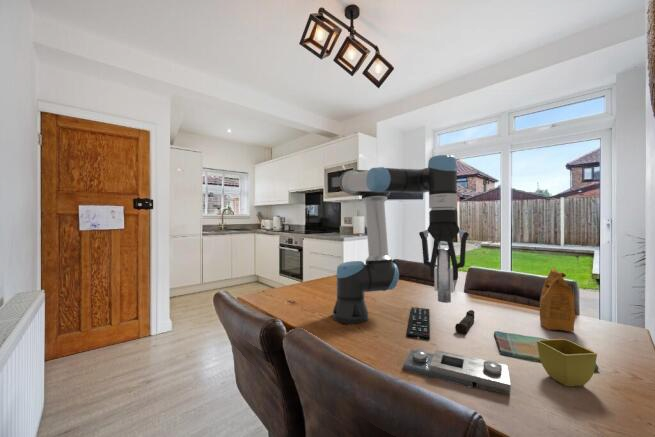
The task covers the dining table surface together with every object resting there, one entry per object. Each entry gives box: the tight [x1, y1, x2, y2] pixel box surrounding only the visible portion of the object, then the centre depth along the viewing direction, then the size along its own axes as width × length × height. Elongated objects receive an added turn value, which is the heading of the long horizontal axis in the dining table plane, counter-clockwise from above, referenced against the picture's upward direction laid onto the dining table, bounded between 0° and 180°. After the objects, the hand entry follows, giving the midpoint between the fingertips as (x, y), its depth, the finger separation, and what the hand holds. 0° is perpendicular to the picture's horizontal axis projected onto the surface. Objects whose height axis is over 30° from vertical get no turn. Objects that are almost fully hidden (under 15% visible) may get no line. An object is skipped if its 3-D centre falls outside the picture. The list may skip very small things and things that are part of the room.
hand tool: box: [454, 309, 475, 335], centre depth 108 cm, size 19×4×5 cm, turn 138°
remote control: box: [406, 306, 431, 341], centre depth 112 cm, size 8×32×2 cm, turn 160°
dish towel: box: [493, 330, 600, 372], centre depth 88 cm, size 17×23×2 cm
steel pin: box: [436, 248, 452, 304], centre depth 80 cm, size 4×4×15 cm
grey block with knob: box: [430, 349, 511, 396], centre depth 74 cm, size 18×10×4 cm, turn 61°
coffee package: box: [539, 267, 576, 332], centre depth 107 cm, size 10×12×22 cm
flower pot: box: [537, 338, 598, 387], centre depth 72 cm, size 9×9×9 cm
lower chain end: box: [403, 348, 473, 388], centre depth 78 cm, size 17×10×4 cm, turn 61°
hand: (444, 290), depth 80 cm, fingers closed on steel pin, 3 cm apart
